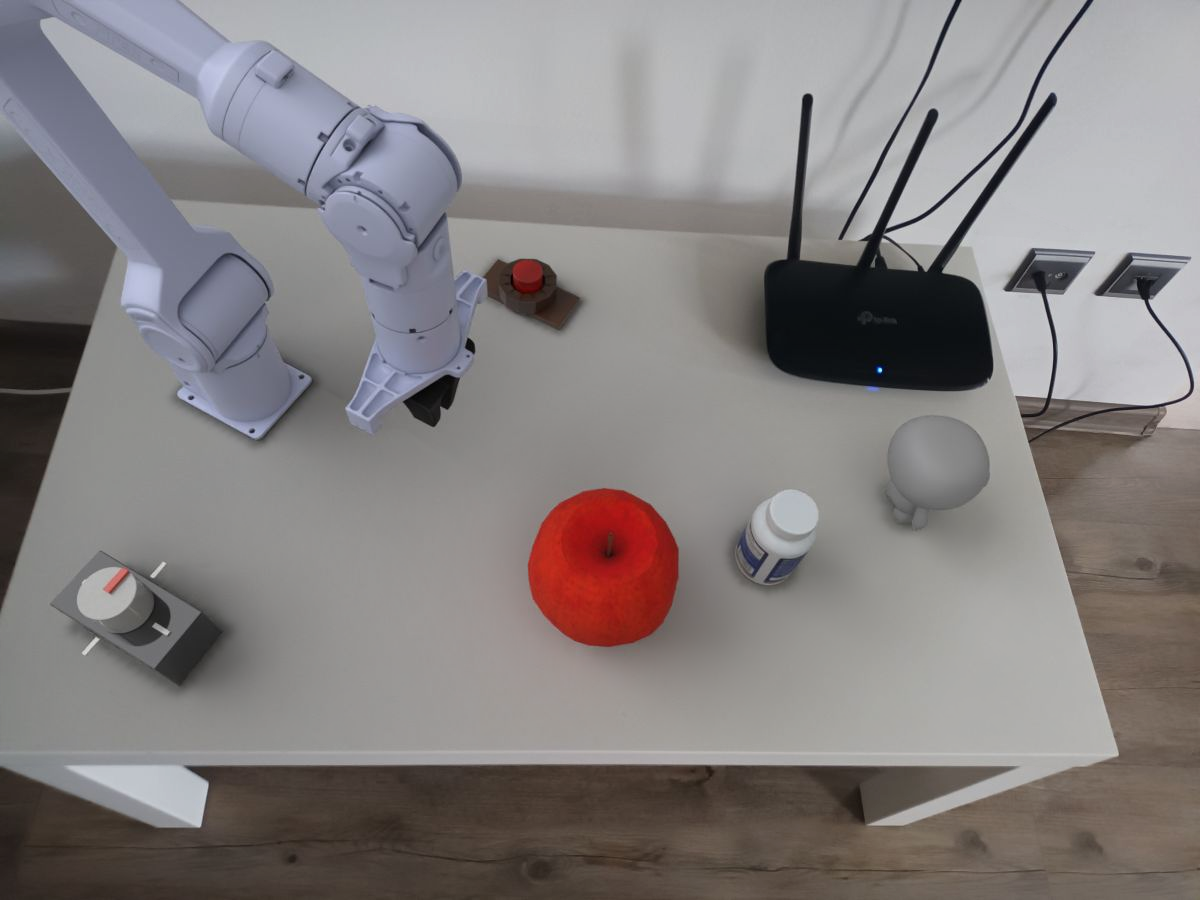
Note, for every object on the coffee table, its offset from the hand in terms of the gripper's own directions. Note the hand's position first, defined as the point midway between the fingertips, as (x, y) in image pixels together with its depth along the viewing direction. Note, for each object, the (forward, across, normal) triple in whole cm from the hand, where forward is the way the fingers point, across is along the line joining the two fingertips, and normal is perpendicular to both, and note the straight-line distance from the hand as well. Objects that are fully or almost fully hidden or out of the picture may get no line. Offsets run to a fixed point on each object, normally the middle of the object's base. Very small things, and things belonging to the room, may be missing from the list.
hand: (432, 410), depth 65 cm
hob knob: (+5, -24, +12) cm, 27 cm away
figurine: (+11, +18, -38) cm, 43 cm away
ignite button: (+8, +22, +4) cm, 24 cm away
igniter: (+10, +22, +4) cm, 24 cm away
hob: (+10, -24, +12) cm, 28 cm away
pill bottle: (+11, +7, -29) cm, 32 cm away
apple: (+11, -4, -18) cm, 21 cm away
